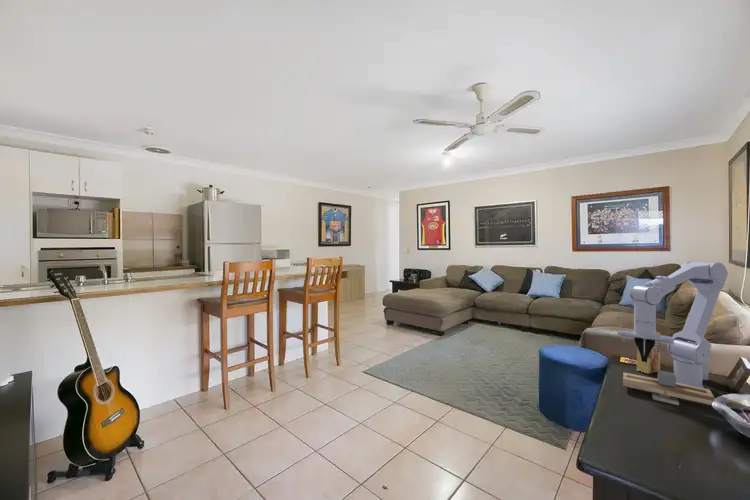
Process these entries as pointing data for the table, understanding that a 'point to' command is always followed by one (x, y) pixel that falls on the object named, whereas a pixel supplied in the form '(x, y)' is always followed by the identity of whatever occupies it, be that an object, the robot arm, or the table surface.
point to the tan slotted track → (668, 390)
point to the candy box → (650, 359)
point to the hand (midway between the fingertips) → (644, 361)
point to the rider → (666, 378)
